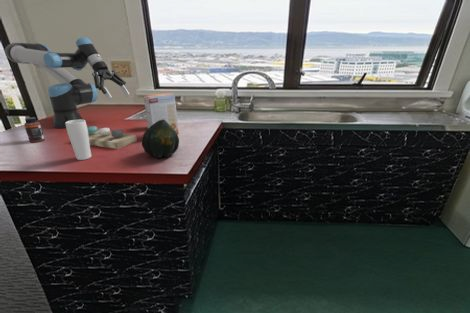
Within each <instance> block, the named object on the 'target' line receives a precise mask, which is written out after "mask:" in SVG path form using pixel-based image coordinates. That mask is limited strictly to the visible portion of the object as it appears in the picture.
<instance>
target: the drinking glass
mask: <svg viewBox="0 0 470 313" xmlns="http://www.w3.org/2000/svg"><path fill="white" fill-rule="evenodd" d="M82 119H83V118H82ZM82 119H79V120H70V121H67V122H65V125H66V128H65V129H66V132H67V136H68V138H69V141H70V143H71V146H72V149H73V153H74V154H75V158H76V160H78V161H85V160H88V159H90V158H92V151H91V145H90V143H89V135H88V129H87V127H88V125H87V122H86V121H87V120H85V119H83V120H82Z"/></svg>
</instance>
